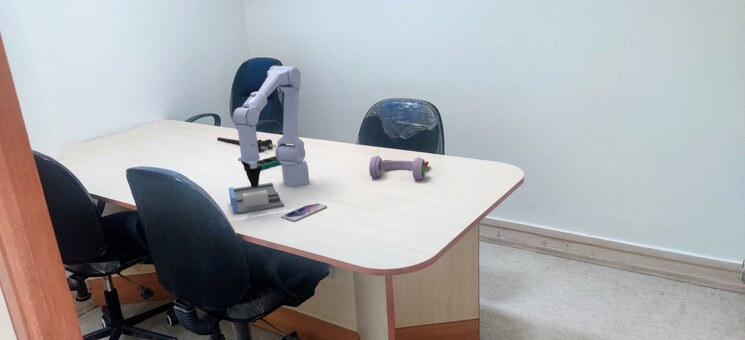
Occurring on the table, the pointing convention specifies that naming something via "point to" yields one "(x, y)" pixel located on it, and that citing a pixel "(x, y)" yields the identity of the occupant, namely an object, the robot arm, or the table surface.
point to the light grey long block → (258, 198)
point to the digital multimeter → (268, 163)
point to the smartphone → (303, 212)
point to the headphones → (397, 166)
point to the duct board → (237, 193)
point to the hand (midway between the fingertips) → (253, 183)
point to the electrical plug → (261, 144)
